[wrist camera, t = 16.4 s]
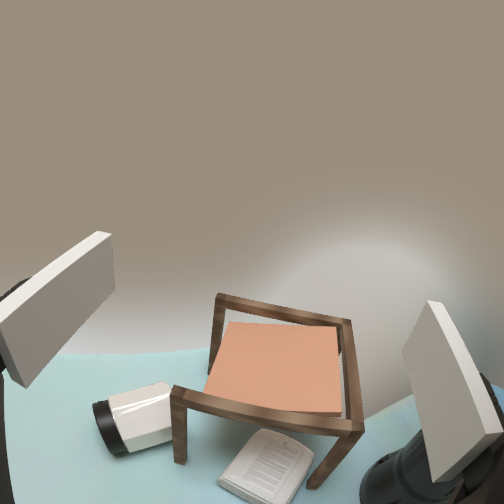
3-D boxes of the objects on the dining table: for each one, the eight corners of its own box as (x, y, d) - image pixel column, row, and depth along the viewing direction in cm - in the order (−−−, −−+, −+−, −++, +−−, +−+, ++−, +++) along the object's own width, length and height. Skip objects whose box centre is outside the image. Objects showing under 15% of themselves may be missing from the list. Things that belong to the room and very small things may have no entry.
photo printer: (279, 518, 31) (314, 458, 41) (286, 510, 29) (322, 446, 39) (214, 485, 35) (257, 431, 45) (216, 474, 33) (262, 417, 43)
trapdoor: (335, 331, 45) (335, 326, 45) (340, 417, 31) (341, 412, 31) (229, 326, 48) (229, 321, 48) (200, 406, 34) (199, 401, 33)
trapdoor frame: (319, 391, 55) (350, 319, 47) (316, 489, 36) (364, 431, 28) (209, 369, 56) (218, 292, 49) (174, 462, 37) (169, 394, 30)
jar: (163, 370, 43) (87, 391, 37) (185, 414, 37) (100, 439, 31) (168, 402, 47) (102, 421, 41) (189, 441, 41) (117, 463, 36)
